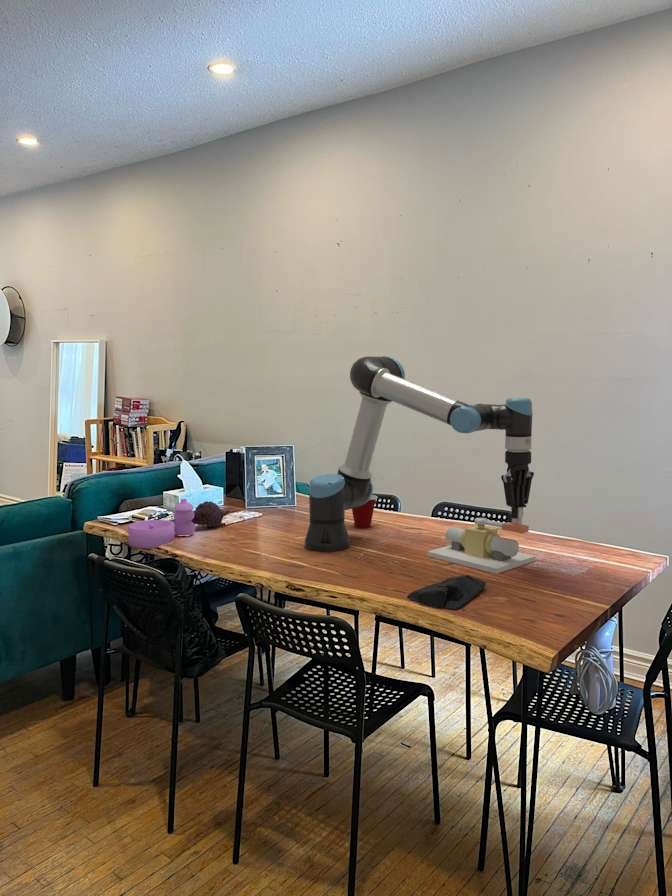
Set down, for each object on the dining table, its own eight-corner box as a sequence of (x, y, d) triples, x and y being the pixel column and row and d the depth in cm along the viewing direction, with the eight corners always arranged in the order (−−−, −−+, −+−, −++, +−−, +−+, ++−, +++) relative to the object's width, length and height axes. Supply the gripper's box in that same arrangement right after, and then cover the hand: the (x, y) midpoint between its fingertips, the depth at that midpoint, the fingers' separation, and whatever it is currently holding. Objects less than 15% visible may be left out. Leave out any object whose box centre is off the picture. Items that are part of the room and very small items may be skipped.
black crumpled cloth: (496, 592, 186) (496, 574, 185) (453, 614, 169) (454, 595, 168) (446, 581, 195) (446, 564, 195) (401, 601, 179) (401, 582, 178)
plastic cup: (378, 529, 256) (378, 497, 255) (348, 529, 256) (348, 497, 255) (377, 523, 267) (377, 492, 265) (348, 523, 267) (348, 492, 266)
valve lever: (472, 524, 215) (472, 518, 215) (479, 522, 218) (479, 516, 218) (521, 533, 203) (522, 527, 202) (529, 531, 205) (529, 525, 205)
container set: (144, 550, 229) (143, 511, 227) (120, 543, 239) (118, 505, 237) (206, 537, 247) (205, 500, 246) (180, 530, 257) (179, 495, 256)
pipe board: (496, 573, 200) (496, 536, 199) (427, 556, 219) (427, 522, 218) (535, 560, 213) (536, 526, 212) (467, 545, 233) (467, 513, 231)
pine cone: (196, 534, 251) (195, 506, 250) (180, 529, 258) (179, 503, 257) (235, 525, 264) (234, 499, 263) (219, 522, 271) (218, 496, 270)
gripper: (515, 453, 199) (513, 534, 202) (542, 449, 207) (540, 527, 210) (494, 451, 205) (492, 529, 208) (521, 447, 213) (519, 523, 216)
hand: (516, 528), depth 209 cm, fingers closed
